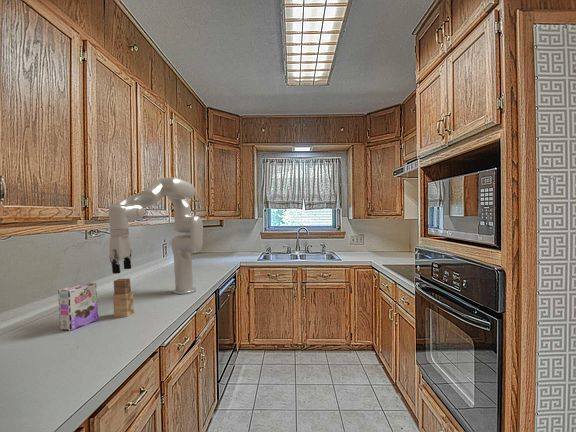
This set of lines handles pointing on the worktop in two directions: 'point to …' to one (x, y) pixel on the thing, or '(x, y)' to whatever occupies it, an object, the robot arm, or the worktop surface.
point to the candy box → (77, 306)
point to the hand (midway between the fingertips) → (122, 271)
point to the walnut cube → (122, 286)
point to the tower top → (123, 299)
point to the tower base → (123, 310)
